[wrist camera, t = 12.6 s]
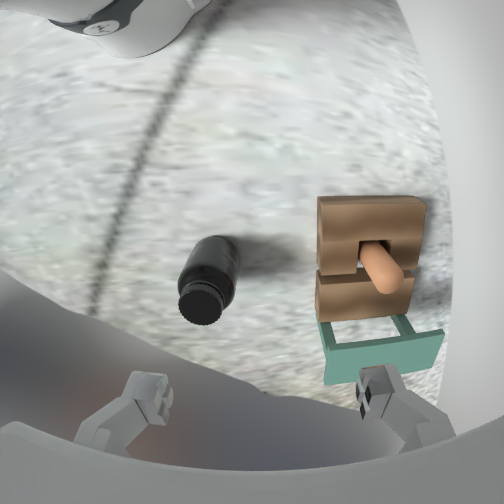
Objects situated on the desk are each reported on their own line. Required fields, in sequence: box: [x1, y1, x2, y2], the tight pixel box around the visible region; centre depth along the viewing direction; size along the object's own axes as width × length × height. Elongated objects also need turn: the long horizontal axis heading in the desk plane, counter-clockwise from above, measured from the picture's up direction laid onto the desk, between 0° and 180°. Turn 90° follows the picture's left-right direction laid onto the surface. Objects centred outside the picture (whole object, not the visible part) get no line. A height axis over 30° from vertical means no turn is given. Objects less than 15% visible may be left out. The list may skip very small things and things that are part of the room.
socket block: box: [315, 196, 426, 323], centre depth 39 cm, size 17×14×4 cm
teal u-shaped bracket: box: [316, 314, 445, 385], centre depth 37 cm, size 6×15×14 cm, turn 94°
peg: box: [358, 240, 404, 294], centre depth 35 cm, size 4×4×10 cm
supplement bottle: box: [178, 237, 240, 326], centre depth 36 cm, size 7×7×12 cm
